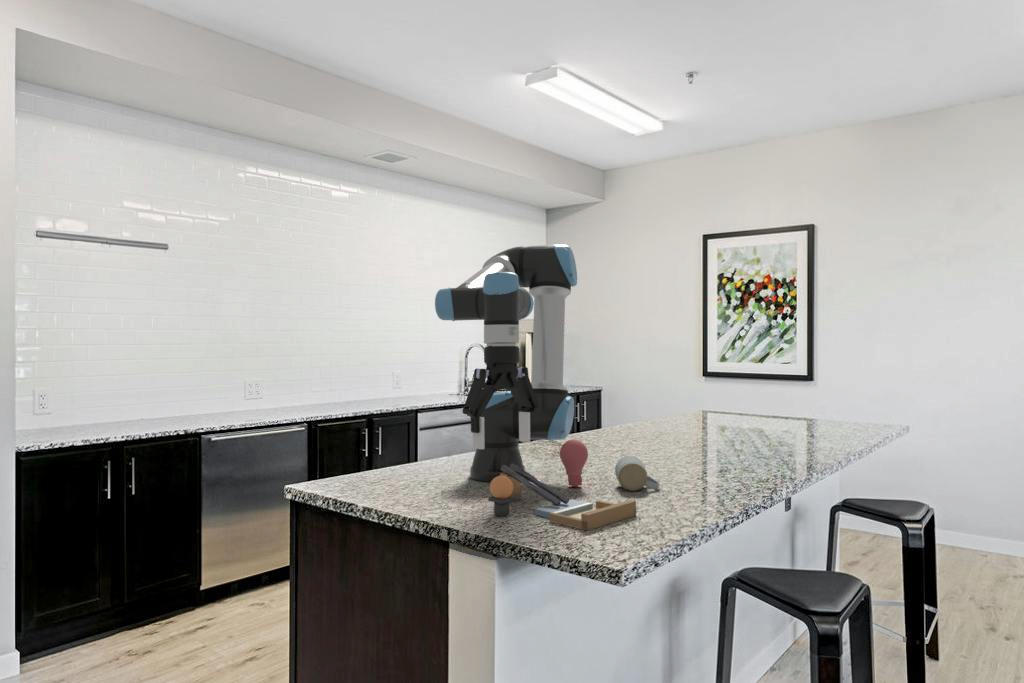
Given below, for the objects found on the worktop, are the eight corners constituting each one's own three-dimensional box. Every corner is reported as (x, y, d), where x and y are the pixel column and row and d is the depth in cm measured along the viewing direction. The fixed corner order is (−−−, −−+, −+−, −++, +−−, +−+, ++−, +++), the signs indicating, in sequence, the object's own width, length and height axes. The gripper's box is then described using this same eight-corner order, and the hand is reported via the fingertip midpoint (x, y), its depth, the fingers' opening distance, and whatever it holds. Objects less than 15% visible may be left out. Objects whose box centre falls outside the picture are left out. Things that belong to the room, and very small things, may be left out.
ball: (485, 499, 144) (484, 475, 144) (502, 495, 147) (501, 472, 147) (501, 503, 140) (501, 479, 140) (518, 499, 144) (518, 475, 144)
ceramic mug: (618, 492, 165) (618, 460, 165) (614, 485, 173) (615, 455, 173) (662, 493, 164) (662, 461, 164) (656, 486, 172) (656, 456, 172)
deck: (535, 514, 144) (534, 508, 144) (571, 504, 152) (571, 499, 152) (556, 519, 139) (556, 513, 139) (592, 509, 148) (592, 503, 148)
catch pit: (549, 521, 138) (549, 506, 138) (598, 507, 149) (598, 494, 149) (587, 530, 131) (587, 515, 131) (636, 515, 142) (636, 501, 142)
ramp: (500, 500, 157) (499, 465, 157) (513, 497, 160) (513, 462, 160) (556, 513, 144) (556, 474, 144) (570, 509, 147) (569, 472, 147)
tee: (488, 514, 144) (488, 497, 144) (502, 511, 146) (501, 494, 146) (501, 518, 141) (501, 500, 141) (515, 514, 144) (514, 496, 144)
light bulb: (555, 488, 170) (555, 440, 170) (566, 483, 176) (566, 437, 176) (582, 491, 166) (581, 442, 166) (592, 485, 172) (591, 438, 173)
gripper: (469, 345, 132) (470, 453, 132) (553, 344, 150) (554, 440, 150) (444, 345, 138) (445, 449, 138) (529, 345, 155) (530, 437, 155)
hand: (502, 445), depth 144 cm, fingers open, 13 cm apart
